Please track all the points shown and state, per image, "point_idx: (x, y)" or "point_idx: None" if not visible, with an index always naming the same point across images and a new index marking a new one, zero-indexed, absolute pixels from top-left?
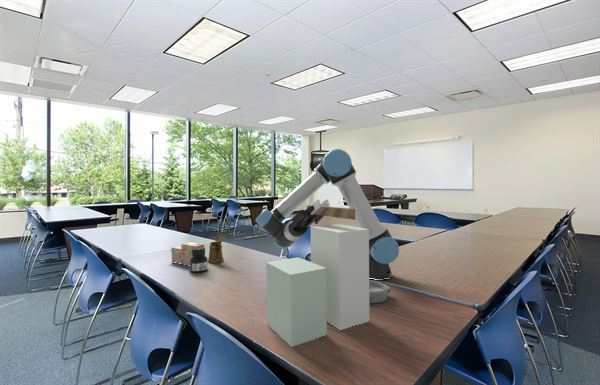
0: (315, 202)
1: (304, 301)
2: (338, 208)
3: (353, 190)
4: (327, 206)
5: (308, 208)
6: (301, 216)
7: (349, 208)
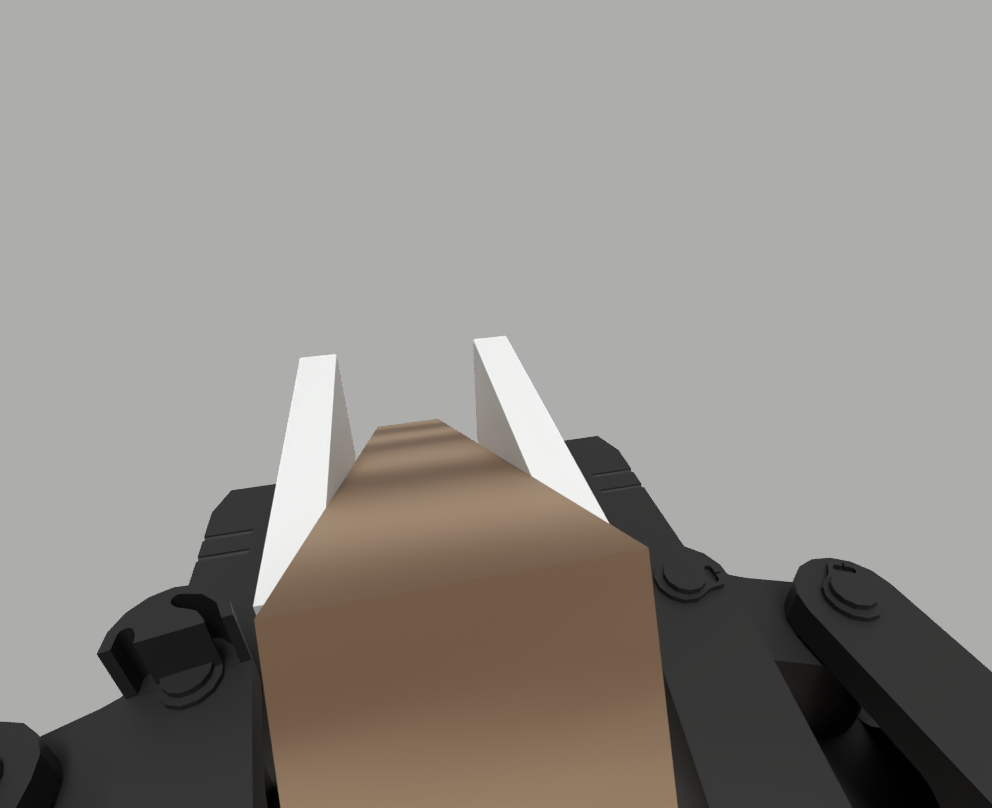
0: (523, 376)
1: None
2: (444, 424)
3: None
4: (356, 462)
5: (652, 503)
6: (879, 738)
7: (383, 428)
